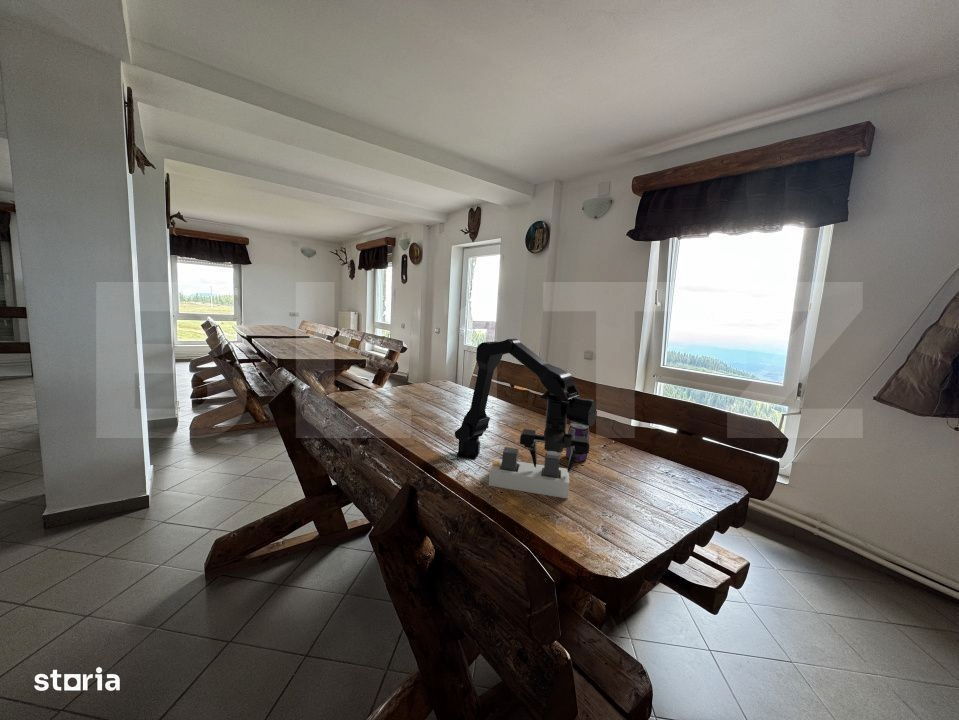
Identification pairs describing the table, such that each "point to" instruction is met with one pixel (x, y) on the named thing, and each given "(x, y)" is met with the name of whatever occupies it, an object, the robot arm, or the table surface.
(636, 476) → the table surface
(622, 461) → the table surface
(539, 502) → the table surface
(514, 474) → the power strip
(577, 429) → the beverage can
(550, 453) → the plug
